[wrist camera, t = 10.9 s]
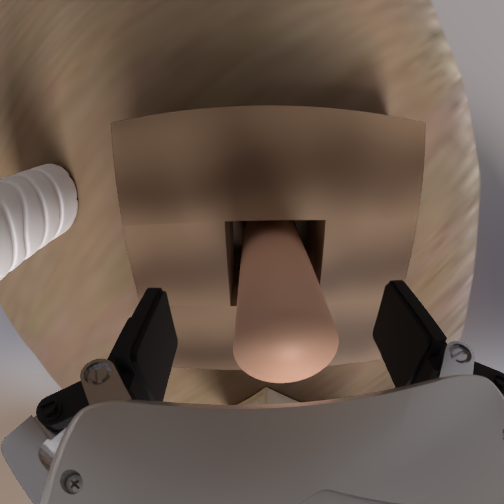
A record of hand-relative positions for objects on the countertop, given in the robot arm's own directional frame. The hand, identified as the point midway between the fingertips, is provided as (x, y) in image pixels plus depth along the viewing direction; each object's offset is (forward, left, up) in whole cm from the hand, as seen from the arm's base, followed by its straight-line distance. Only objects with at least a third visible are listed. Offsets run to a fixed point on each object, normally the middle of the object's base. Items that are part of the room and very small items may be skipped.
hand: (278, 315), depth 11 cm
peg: (0, 0, -10) cm, 10 cm away
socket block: (0, 0, -10) cm, 10 cm away
